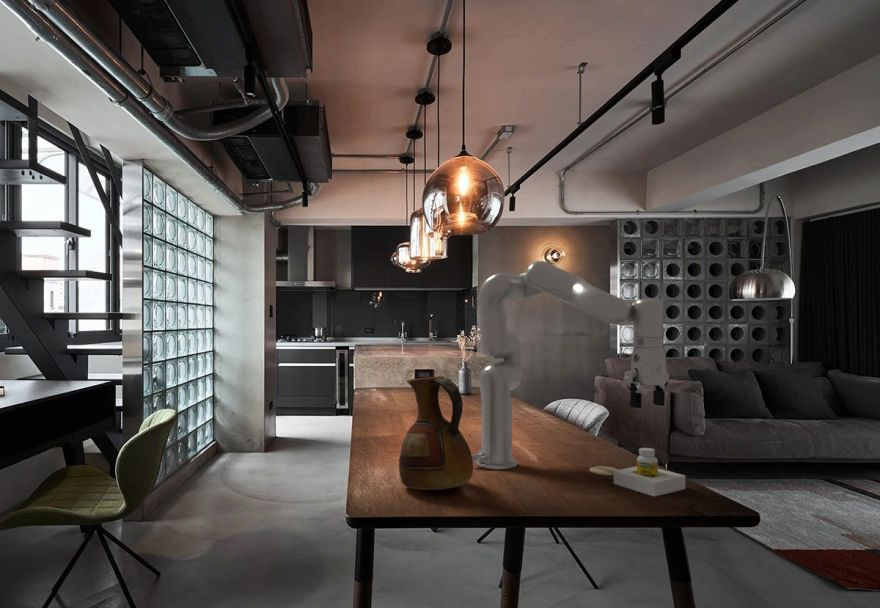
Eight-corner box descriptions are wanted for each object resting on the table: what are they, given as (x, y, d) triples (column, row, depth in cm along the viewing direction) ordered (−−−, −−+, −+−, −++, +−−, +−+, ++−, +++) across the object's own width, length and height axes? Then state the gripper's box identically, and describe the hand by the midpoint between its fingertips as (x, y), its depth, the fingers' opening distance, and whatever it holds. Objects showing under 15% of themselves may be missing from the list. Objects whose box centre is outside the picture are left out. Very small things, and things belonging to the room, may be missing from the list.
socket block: (654, 496, 138) (654, 482, 138) (613, 483, 149) (613, 470, 149) (685, 488, 145) (685, 475, 145) (644, 477, 156) (644, 464, 156)
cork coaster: (612, 478, 156) (612, 475, 156) (584, 472, 162) (584, 470, 162) (625, 472, 162) (625, 470, 162) (598, 466, 169) (598, 464, 169)
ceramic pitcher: (423, 473, 157) (424, 371, 158) (485, 484, 147) (486, 374, 148) (383, 491, 140) (384, 375, 142) (450, 504, 130) (451, 380, 131)
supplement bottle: (657, 482, 149) (656, 447, 149) (659, 488, 143) (658, 452, 144) (636, 481, 150) (635, 446, 150) (638, 487, 145) (637, 450, 145)
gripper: (638, 344, 141) (638, 410, 140) (679, 344, 150) (679, 406, 149) (615, 343, 147) (615, 406, 146) (656, 343, 156) (655, 402, 155)
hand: (647, 406), depth 148 cm, fingers open, 9 cm apart
